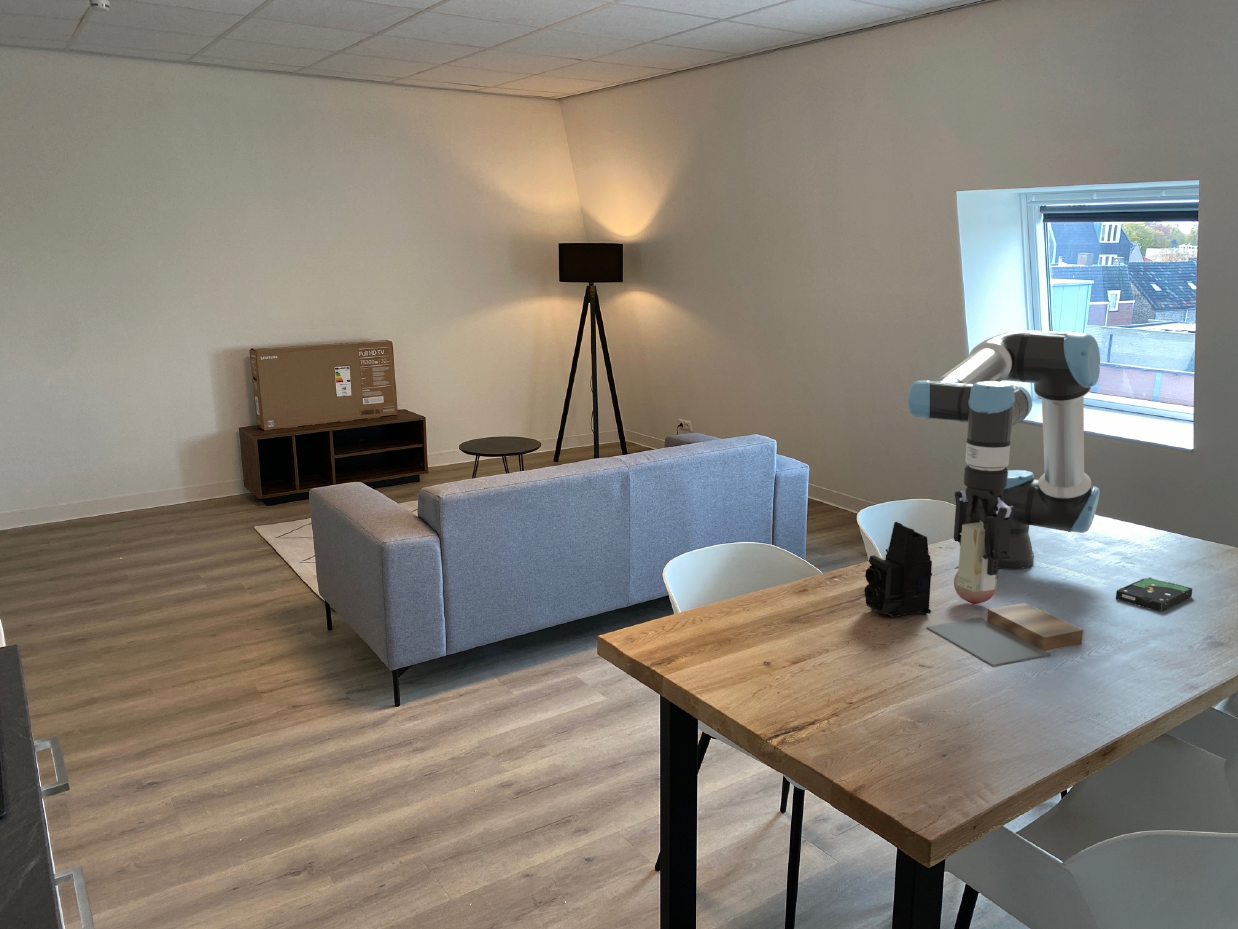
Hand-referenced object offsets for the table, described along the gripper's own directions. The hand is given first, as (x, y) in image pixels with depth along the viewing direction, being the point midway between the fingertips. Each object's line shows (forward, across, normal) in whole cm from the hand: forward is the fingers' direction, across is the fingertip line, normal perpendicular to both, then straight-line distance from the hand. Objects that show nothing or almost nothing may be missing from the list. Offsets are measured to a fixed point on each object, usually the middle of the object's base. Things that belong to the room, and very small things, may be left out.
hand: (977, 584), depth 177 cm
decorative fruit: (+17, -24, +21) cm, 36 cm away
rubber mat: (+16, -8, +10) cm, 21 cm away
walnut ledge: (+16, -8, +22) cm, 29 cm away
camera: (+17, -28, +2) cm, 32 cm away
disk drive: (+17, -14, +62) cm, 66 cm away
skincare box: (+1, 0, 0) cm, 1 cm away
